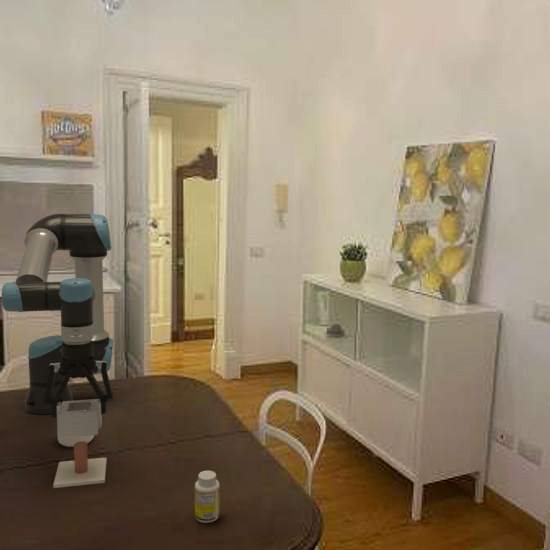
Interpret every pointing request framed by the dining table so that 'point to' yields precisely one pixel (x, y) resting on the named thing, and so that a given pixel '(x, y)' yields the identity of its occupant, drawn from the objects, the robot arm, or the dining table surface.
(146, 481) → the dining table surface
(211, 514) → the supplement bottle
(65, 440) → the cup
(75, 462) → the peg stand
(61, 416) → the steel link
